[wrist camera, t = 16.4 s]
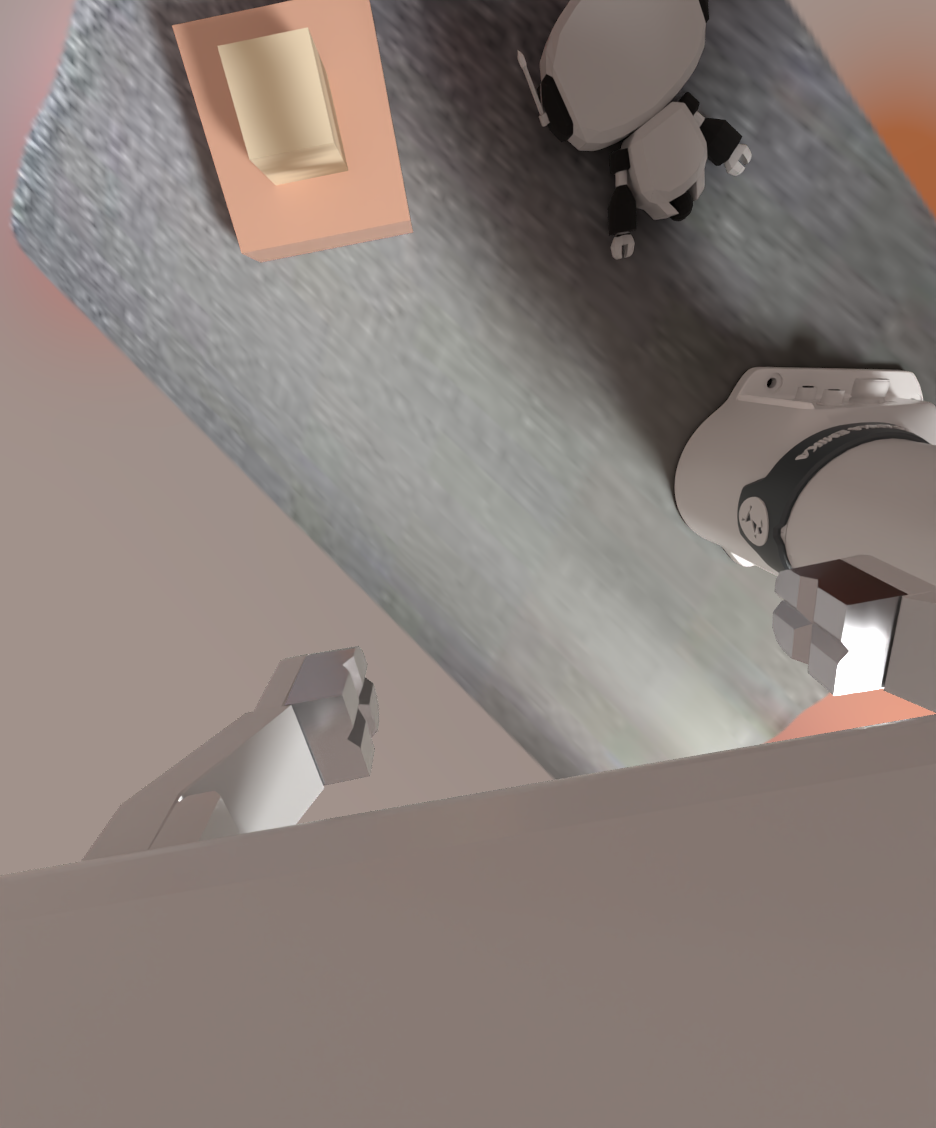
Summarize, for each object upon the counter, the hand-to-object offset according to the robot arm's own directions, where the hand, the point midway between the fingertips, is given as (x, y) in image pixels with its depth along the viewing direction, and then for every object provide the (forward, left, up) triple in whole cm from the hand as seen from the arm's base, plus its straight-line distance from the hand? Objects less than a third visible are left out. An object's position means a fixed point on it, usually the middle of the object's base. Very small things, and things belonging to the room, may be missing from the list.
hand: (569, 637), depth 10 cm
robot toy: (-15, -18, -38) cm, 44 cm away
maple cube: (+8, -20, -33) cm, 39 cm away
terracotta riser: (+8, -20, -37) cm, 43 cm away
